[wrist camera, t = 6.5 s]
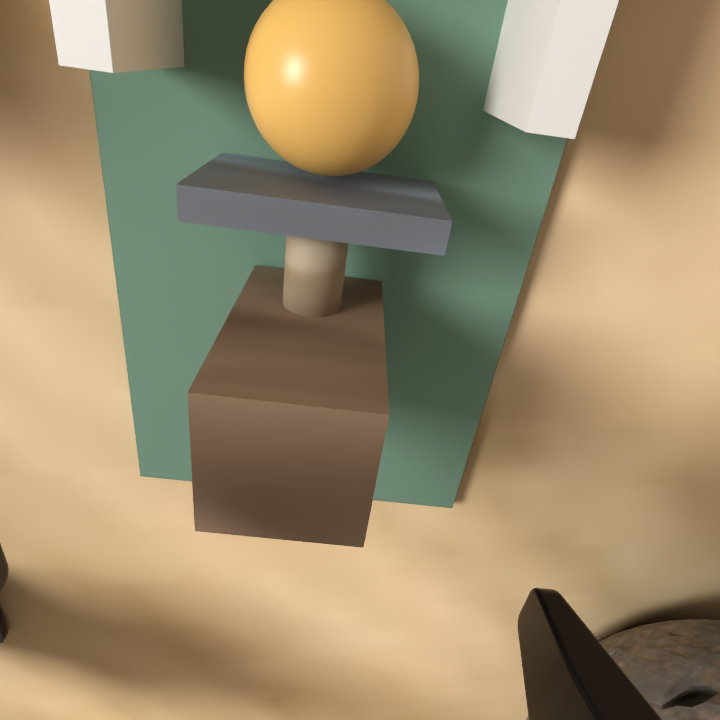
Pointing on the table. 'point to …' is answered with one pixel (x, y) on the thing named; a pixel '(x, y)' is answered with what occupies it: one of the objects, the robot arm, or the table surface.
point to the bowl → (672, 666)
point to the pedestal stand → (299, 349)
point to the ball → (331, 82)
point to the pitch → (393, 267)
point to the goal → (506, 86)
